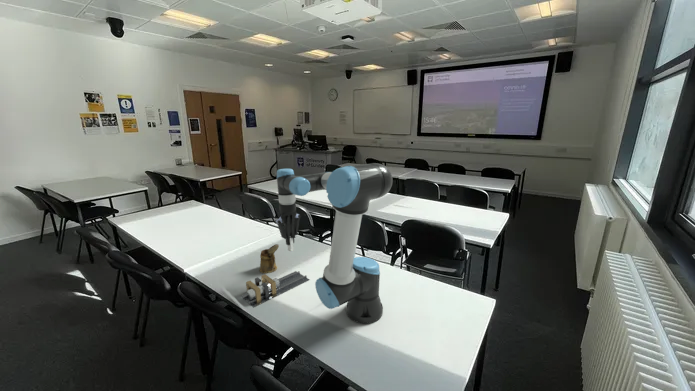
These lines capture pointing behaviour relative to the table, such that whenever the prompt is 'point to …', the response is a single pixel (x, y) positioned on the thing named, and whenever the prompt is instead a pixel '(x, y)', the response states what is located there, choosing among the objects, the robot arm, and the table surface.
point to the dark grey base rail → (285, 285)
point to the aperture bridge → (263, 286)
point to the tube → (262, 289)
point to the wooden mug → (268, 260)
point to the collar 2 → (272, 282)
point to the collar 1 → (257, 290)
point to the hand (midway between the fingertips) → (290, 250)
